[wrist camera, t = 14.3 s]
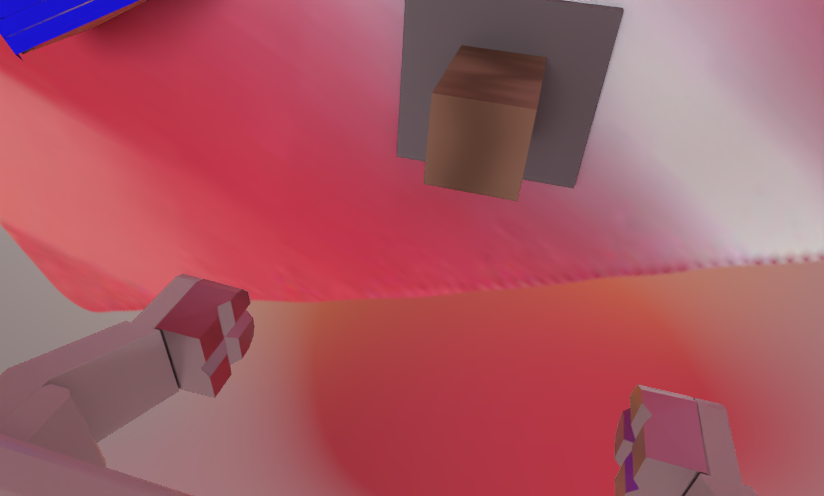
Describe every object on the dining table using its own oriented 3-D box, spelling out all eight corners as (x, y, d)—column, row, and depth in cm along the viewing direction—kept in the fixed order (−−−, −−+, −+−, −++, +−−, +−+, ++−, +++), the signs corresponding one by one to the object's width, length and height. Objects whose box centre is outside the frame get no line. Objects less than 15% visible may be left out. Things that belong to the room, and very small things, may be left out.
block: (546, 57, 32) (537, 109, 26) (530, 136, 35) (517, 201, 29) (461, 45, 33) (431, 93, 26) (452, 123, 36) (423, 183, 29)
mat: (622, 8, 30) (623, 10, 30) (573, 184, 37) (573, 188, 36) (408, -19, 32) (406, -18, 31) (399, 152, 39) (396, 156, 38)
